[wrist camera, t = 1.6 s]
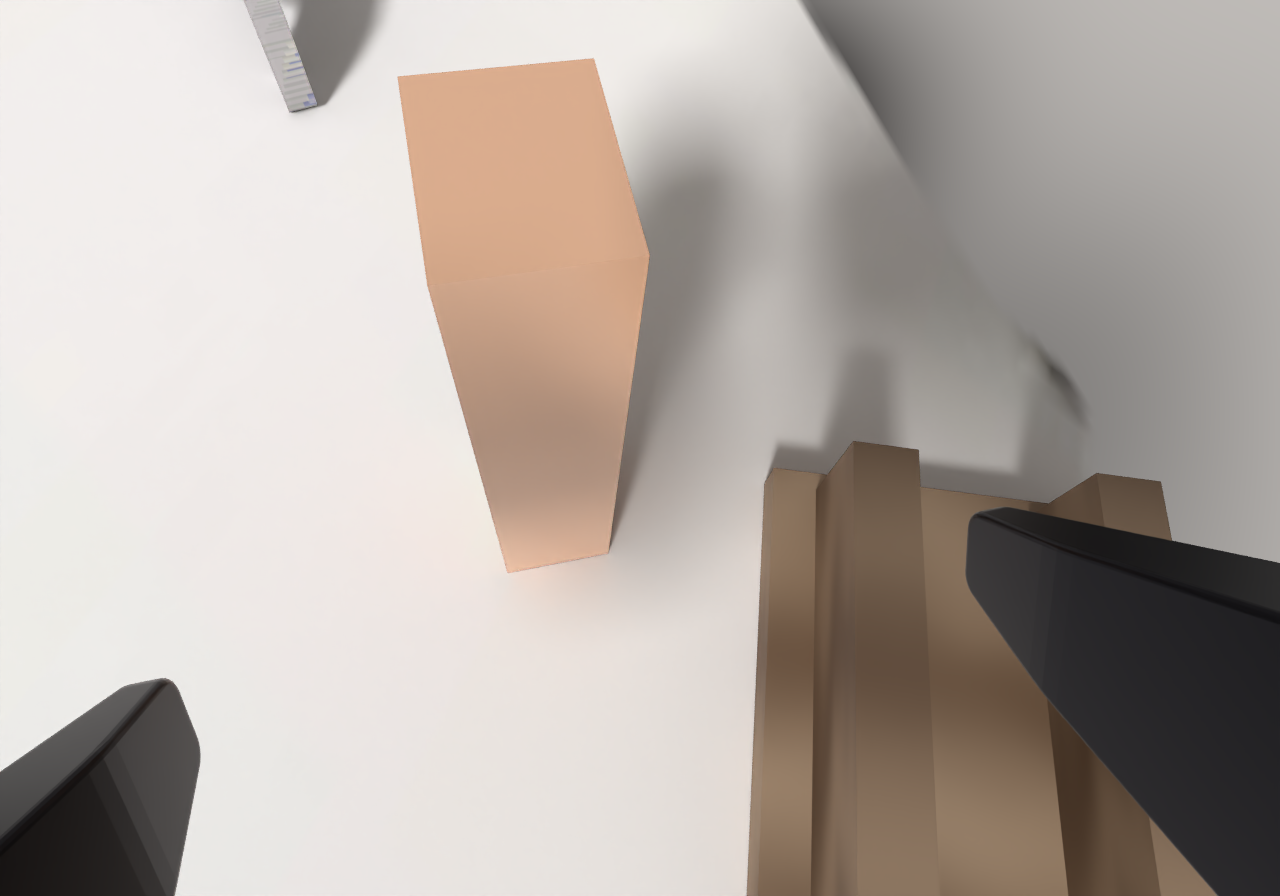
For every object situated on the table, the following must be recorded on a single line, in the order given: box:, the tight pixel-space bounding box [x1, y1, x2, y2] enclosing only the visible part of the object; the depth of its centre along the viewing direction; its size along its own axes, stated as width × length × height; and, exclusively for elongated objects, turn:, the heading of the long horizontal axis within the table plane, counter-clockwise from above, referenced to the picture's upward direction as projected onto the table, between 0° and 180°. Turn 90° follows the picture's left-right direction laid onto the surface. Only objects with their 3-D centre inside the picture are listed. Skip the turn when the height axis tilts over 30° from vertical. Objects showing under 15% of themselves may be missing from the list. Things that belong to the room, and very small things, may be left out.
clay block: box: [398, 59, 650, 573], centre depth 16 cm, size 4×3×13 cm
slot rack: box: [747, 441, 1217, 896], centre depth 19 cm, size 12×10×4 cm
